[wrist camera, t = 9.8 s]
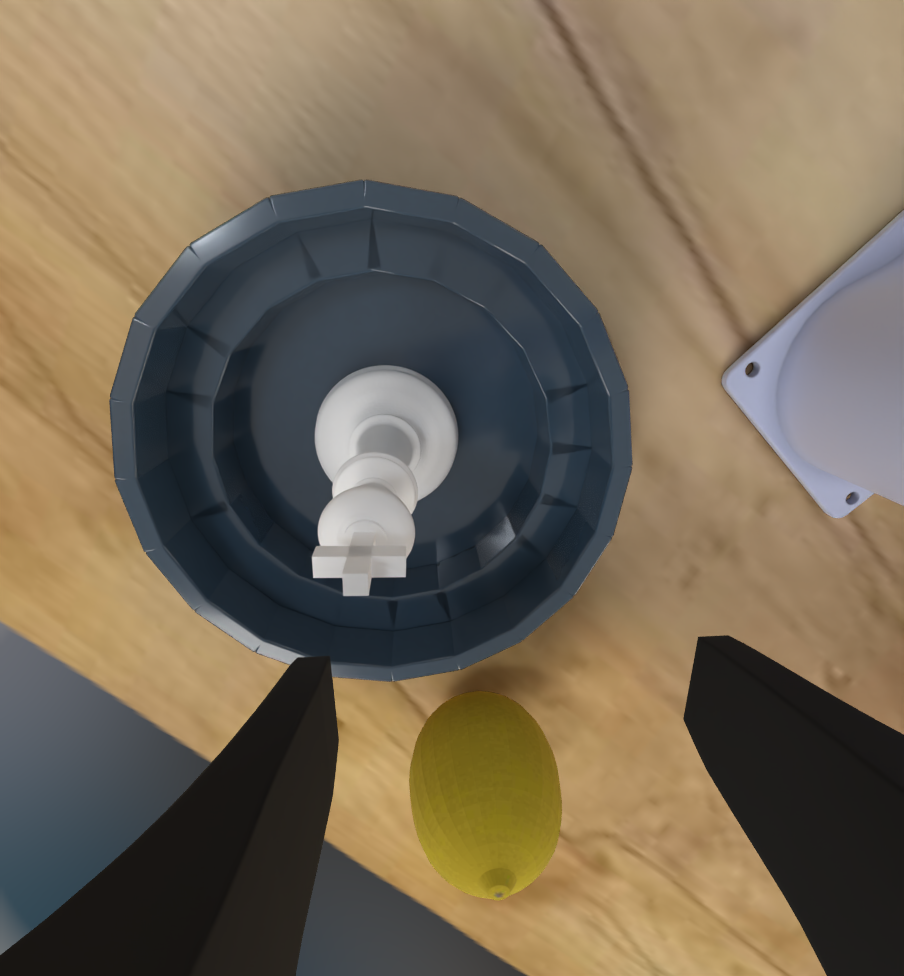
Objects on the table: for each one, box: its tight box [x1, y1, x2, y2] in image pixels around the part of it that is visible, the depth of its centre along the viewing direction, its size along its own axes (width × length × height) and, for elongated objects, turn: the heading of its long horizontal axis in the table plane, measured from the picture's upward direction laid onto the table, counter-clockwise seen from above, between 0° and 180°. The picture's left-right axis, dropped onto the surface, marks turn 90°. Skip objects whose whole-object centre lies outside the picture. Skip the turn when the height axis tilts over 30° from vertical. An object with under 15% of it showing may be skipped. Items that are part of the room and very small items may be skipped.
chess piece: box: [312, 365, 458, 596], centre depth 14 cm, size 5×5×10 cm
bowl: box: [109, 179, 632, 682], centre depth 17 cm, size 14×14×5 cm
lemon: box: [409, 691, 562, 900], centre depth 20 cm, size 6×6×8 cm
